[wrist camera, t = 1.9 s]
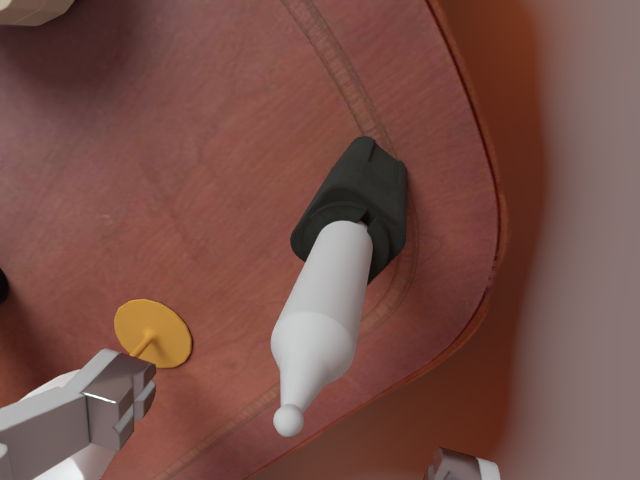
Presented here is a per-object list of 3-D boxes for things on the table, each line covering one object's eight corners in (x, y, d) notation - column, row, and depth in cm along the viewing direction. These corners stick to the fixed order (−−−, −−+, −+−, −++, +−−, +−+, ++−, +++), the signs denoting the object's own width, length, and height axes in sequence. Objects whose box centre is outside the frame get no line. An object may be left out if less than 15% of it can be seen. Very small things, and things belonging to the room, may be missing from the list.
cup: (141, 282, 43) (5, 402, 28) (208, 339, 44) (112, 481, 30) (101, 328, 46) (-36, 454, 32) (164, 379, 48) (60, 521, 34)
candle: (413, 170, 33) (423, 439, 10) (372, 217, 35) (307, 520, 13) (362, 129, 32) (255, 320, 10) (323, 179, 34) (165, 427, 12)
